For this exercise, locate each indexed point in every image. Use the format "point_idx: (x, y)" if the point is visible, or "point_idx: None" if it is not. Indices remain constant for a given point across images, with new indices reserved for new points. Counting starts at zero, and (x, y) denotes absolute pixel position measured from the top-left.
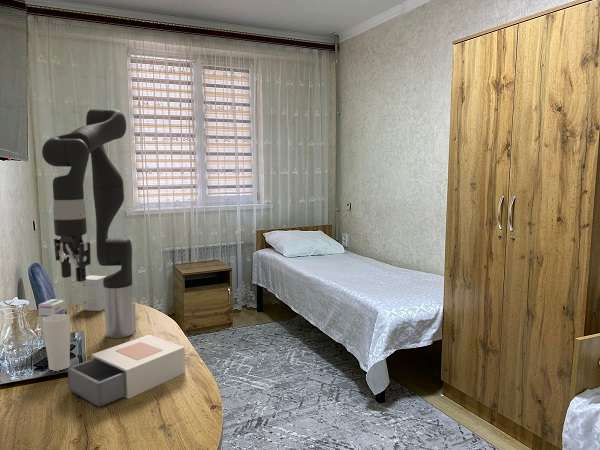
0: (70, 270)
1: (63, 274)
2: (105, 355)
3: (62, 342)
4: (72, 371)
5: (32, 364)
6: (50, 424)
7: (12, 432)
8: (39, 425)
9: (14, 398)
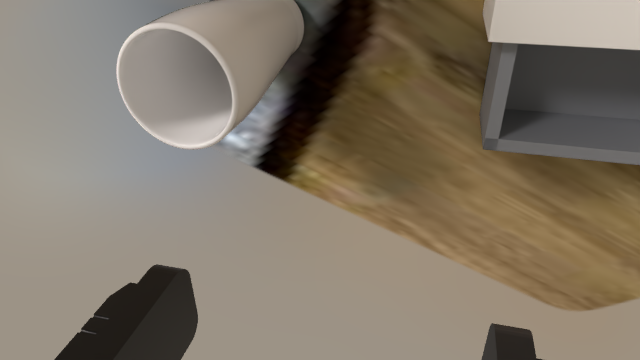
0: (148, 319)
1: (178, 352)
2: (569, 10)
3: (277, 62)
4: (524, 152)
5: None
6: (601, 236)
7: (537, 287)
8: (574, 249)
9: (369, 202)
